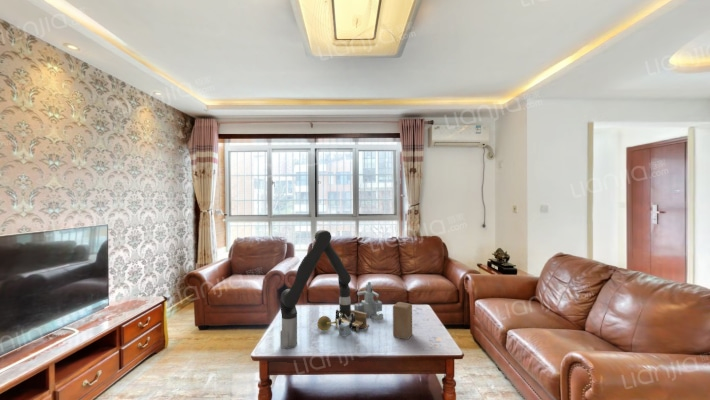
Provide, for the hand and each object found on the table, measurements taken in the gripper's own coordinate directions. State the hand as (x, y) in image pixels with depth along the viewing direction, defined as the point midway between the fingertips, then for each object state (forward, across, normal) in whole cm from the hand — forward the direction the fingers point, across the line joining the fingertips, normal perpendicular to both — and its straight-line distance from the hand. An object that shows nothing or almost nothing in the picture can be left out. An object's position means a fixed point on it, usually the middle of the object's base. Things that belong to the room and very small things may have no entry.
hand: (345, 326), depth 190 cm
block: (+5, +34, +16) cm, 38 cm away
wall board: (+4, -2, +12) cm, 13 cm away
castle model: (+5, -1, +32) cm, 32 cm away
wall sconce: (+3, -20, +5) cm, 21 cm away
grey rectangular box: (+4, 0, 0) cm, 4 cm away
